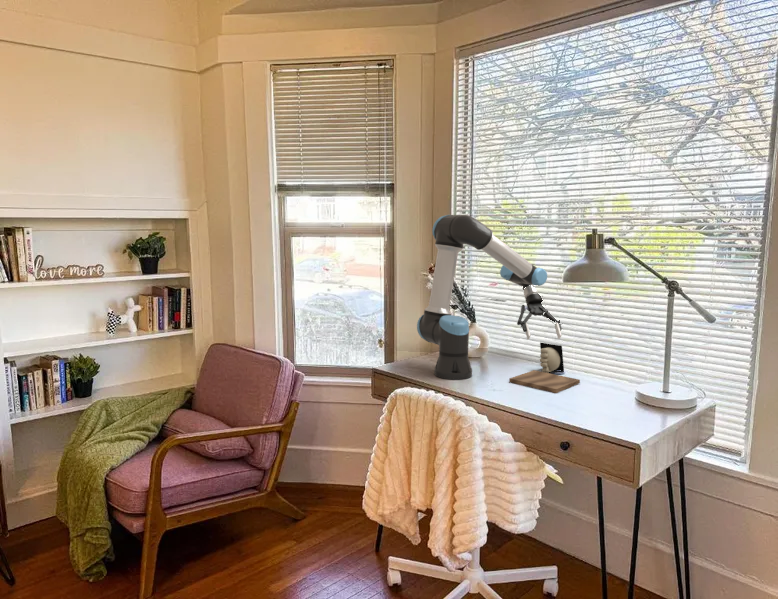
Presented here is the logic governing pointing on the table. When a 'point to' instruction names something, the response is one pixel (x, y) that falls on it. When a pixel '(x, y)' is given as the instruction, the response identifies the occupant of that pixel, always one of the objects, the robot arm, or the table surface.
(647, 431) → the table surface
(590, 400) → the table surface
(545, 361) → the decorative object
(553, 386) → the walnut board
